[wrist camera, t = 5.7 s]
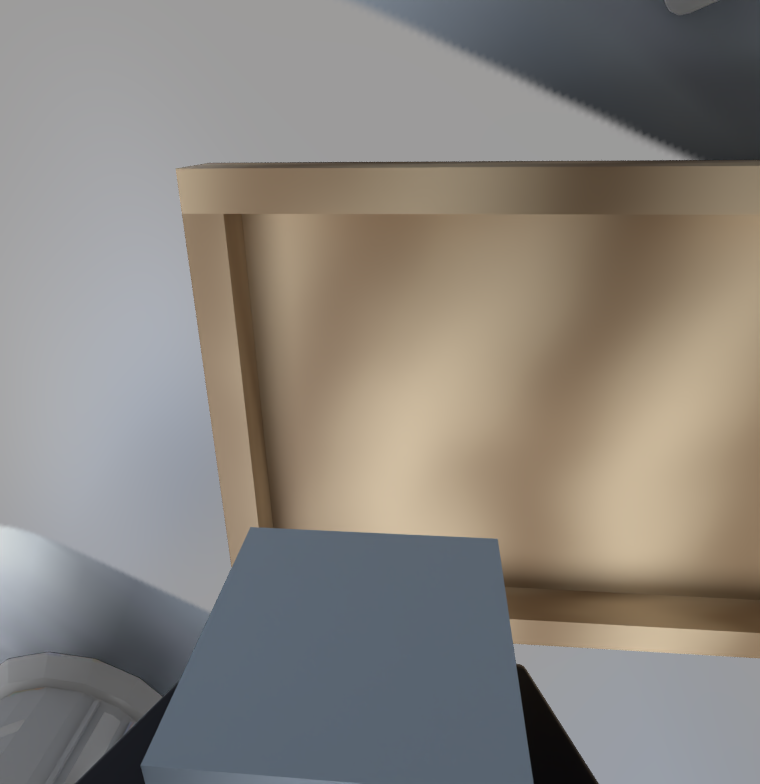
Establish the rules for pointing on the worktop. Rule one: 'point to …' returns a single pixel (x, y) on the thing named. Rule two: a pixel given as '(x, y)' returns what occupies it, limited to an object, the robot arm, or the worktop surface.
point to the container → (686, 5)
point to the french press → (63, 715)
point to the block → (350, 668)
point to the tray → (500, 375)
